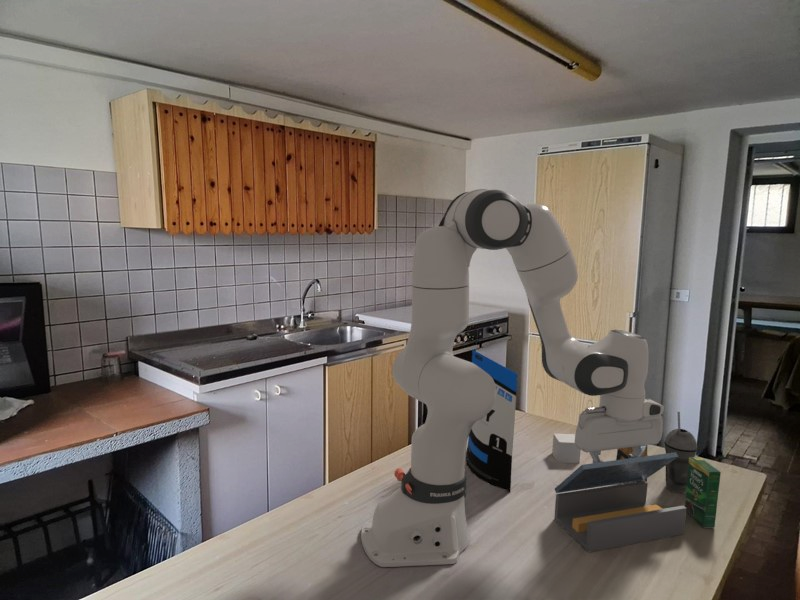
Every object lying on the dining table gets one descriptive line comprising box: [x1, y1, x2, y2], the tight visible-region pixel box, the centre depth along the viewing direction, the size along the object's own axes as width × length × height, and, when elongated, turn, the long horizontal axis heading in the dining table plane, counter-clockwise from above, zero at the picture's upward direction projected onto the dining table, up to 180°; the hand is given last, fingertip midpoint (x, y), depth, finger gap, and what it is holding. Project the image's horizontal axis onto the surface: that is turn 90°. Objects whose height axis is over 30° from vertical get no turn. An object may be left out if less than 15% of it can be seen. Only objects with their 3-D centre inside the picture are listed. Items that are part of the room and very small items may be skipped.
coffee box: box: [684, 456, 721, 529], centre depth 114 cm, size 8×3×13 cm, turn 179°
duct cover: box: [554, 452, 678, 494], centre depth 112 cm, size 24×13×1 cm
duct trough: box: [553, 481, 687, 553], centre depth 111 cm, size 24×12×6 cm, turn 107°
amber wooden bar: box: [572, 504, 663, 532], centre depth 111 cm, size 22×2×2 cm, turn 107°
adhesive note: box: [551, 433, 582, 464], centre depth 144 cm, size 6×6×6 cm
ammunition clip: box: [615, 445, 649, 483], centre depth 134 cm, size 11×2×12 cm, turn 11°
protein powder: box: [465, 349, 518, 493], centre depth 134 cm, size 10×24×30 cm, turn 18°
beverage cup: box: [663, 411, 698, 494], centre depth 127 cm, size 7×7×20 cm
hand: (615, 465), depth 111 cm, fingers open, 8 cm apart
